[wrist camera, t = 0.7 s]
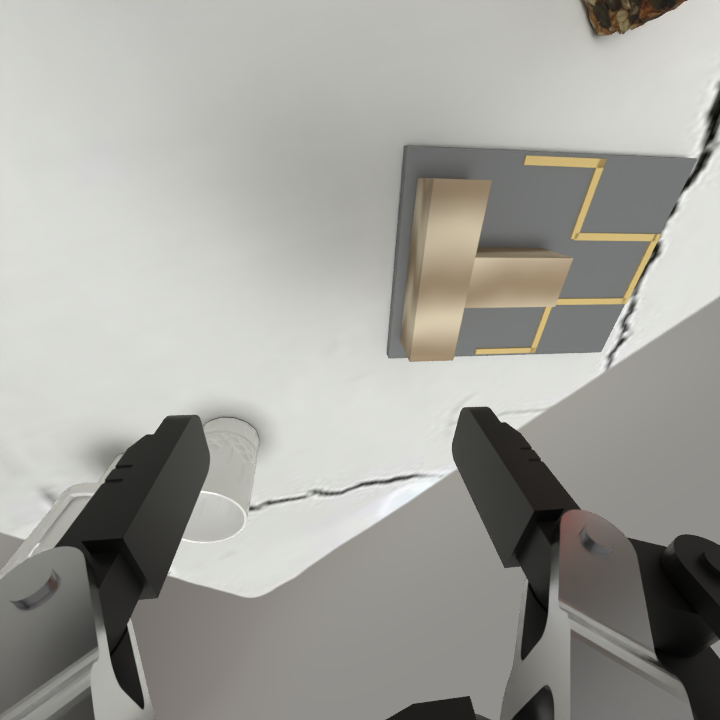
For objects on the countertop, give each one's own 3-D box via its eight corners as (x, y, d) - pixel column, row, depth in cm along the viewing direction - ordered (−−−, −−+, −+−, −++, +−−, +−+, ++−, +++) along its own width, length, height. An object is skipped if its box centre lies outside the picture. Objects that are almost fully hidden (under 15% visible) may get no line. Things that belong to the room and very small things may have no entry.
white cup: (263, 413, 35) (243, 490, 26) (265, 461, 39) (249, 542, 30) (188, 411, 34) (143, 492, 25) (199, 461, 38) (162, 545, 29)
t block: (417, 178, 23) (433, 178, 20) (562, 182, 25) (601, 184, 21) (400, 340, 31) (409, 361, 27) (513, 338, 32) (535, 357, 28)
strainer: (80, 454, 35) (-58, 615, 22) (131, 432, 34) (17, 586, 21) (128, 488, 39) (33, 643, 26) (175, 469, 38) (100, 619, 25)
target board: (404, 146, 23) (408, 145, 22) (684, 159, 26) (700, 158, 25) (386, 353, 32) (388, 359, 31) (594, 347, 35) (602, 353, 34)
